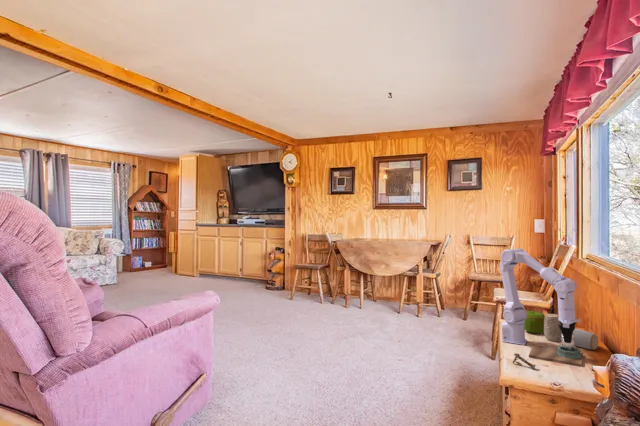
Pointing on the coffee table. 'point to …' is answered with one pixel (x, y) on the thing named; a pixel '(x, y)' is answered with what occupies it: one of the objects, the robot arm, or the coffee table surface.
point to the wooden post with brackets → (522, 361)
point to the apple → (534, 322)
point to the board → (557, 355)
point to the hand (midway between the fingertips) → (568, 340)
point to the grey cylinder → (585, 339)
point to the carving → (552, 327)
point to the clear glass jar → (568, 344)
